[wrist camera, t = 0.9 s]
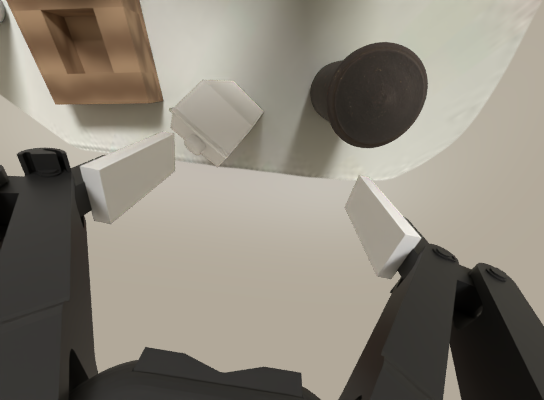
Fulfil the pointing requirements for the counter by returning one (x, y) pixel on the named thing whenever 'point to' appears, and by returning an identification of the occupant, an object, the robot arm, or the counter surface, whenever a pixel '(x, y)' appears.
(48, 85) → the socket block
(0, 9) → the energy drink can
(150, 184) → the robot arm
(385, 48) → the container
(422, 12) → the counter surface
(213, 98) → the milk carton
